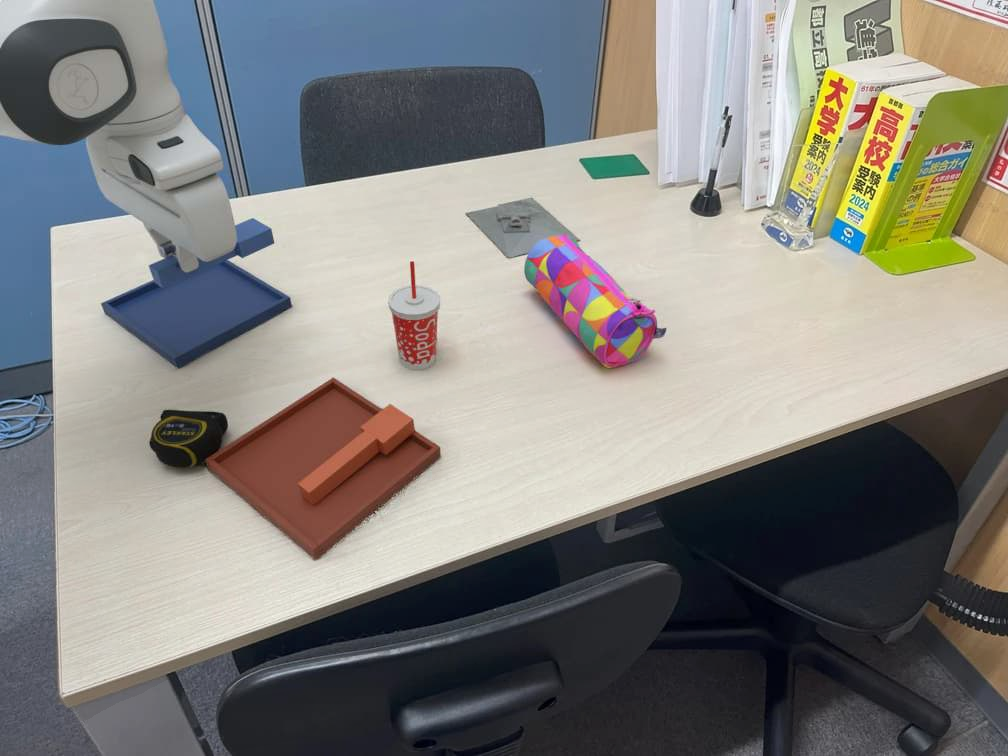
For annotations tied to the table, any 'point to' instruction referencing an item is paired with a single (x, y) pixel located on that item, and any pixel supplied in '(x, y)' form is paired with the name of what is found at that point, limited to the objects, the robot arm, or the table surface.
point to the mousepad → (518, 225)
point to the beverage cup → (415, 323)
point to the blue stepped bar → (248, 242)
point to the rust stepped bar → (358, 452)
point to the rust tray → (301, 450)
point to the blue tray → (196, 311)
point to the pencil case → (590, 302)
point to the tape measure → (187, 437)
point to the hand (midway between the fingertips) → (180, 262)
